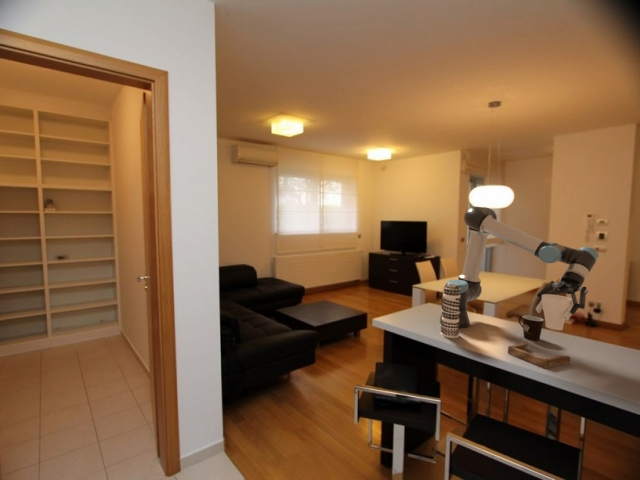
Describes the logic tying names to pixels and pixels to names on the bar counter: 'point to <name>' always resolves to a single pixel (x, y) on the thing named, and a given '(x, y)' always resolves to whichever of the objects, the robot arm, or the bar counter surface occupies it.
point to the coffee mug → (532, 327)
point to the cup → (555, 310)
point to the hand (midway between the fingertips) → (551, 314)
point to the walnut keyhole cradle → (545, 363)
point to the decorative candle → (450, 311)
